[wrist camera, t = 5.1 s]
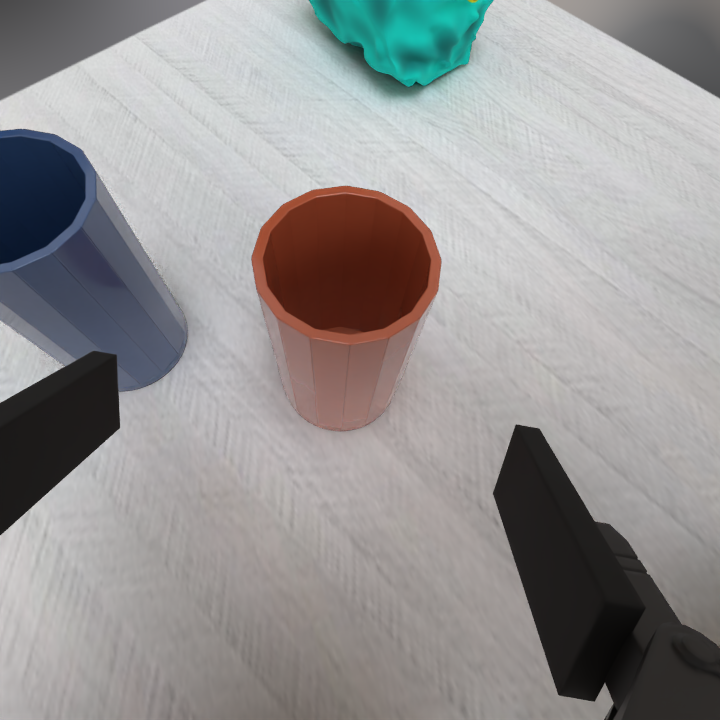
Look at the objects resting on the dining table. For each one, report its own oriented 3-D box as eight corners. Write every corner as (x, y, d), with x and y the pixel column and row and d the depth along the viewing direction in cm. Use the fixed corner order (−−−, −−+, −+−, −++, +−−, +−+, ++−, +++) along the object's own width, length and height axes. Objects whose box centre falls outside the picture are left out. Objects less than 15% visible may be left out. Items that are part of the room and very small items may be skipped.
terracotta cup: (402, 336, 29) (448, 202, 18) (387, 440, 26) (430, 359, 15) (297, 318, 29) (277, 173, 18) (271, 420, 26) (229, 323, 15)
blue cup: (202, 300, 29) (123, 145, 18) (166, 401, 26) (48, 291, 15) (97, 282, 29) (-45, 116, 18) (51, 380, 26) (-150, 255, 15)
